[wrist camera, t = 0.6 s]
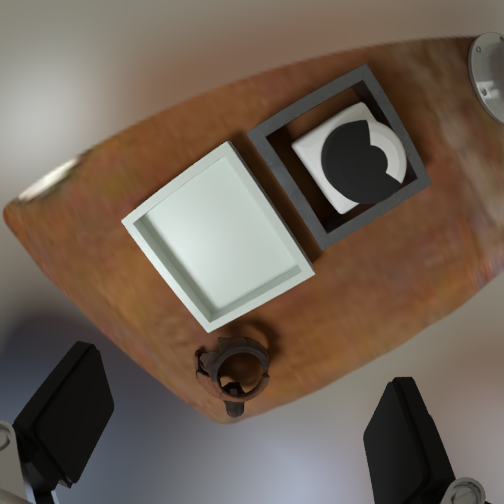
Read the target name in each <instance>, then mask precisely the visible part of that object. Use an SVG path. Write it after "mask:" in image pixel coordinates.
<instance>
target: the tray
mask: <svg viewBox="0 0 504 504" xmlns="http://www.w3.org/2000/svg"><path fill="white" fill-rule="evenodd" d="M121 222H122V223H123V224H124V226H125V227H126V229H127V230H128V231H129V233H130V234H131V236H132V237H133V238H134V240H135V241H136V242H137V244H138V245H139V247H140V248H141V249H142V251H143V252H144V253H145V255H146V256H147V257H148V259H149V260H150V261H151V263H152V264H153V265H154V266H155V268H156V269H157V270H158V272H159V273H160V274H161V276H162V277H163V278H164V279H165V281H166V282H167V283H168V285H169V286H170V287H171V288H172V290H173V291H174V292H175V293H176V295H177V296H178V297H179V298H180V300H181V301H182V302H183V303H184V305H185V306H186V307H187V308H188V309H189V311H190V312H191V313H192V314H193V316H194V317H195V318H196V319H197V320H198V322H199V323H200V324H201V325H202V326H203V327H204V329H205V330H206V331H207V332H208V333H209V332H211V331H213V330H215V329H217V328H218V327H220V326H222V325H224V324H226V323H228V322H230V321H232V320H234V319H236V318H237V317H239V316H241V315H243V314H245V313H247V312H249V311H250V310H252V309H254V308H256V307H258V306H260V305H261V304H263V303H265V302H267V301H269V300H271V299H272V298H274V297H276V296H278V295H280V294H281V293H283V292H285V291H287V290H288V289H290V288H292V287H294V286H296V285H297V284H299V283H301V282H303V281H304V280H306V279H308V278H310V277H311V276H313V275H315V272H314V269H313V265H312V263H311V261H310V260H309V258H308V257H307V255H306V253H305V252H304V250H303V249H302V247H301V246H300V244H299V242H298V241H297V239H296V238H295V236H294V235H293V233H292V232H291V230H290V229H289V227H288V225H287V224H286V222H285V221H284V219H283V218H282V216H281V215H280V213H279V212H278V210H277V209H276V207H275V206H274V204H273V203H272V201H271V200H270V198H269V197H268V195H267V194H266V192H265V191H264V189H263V188H262V186H261V185H260V183H259V182H258V180H257V179H256V177H255V176H254V174H253V173H252V171H251V170H250V168H249V167H248V165H247V164H246V163H245V161H244V160H243V158H242V157H241V155H240V154H239V152H238V151H237V149H236V148H235V147H234V145H233V144H232V142H231V141H226V142H225V143H223V144H222V145H220V146H219V147H217V148H216V149H215V150H213V151H212V152H210V153H209V154H207V155H206V156H205V157H203V158H202V159H200V160H199V161H198V162H196V163H195V164H193V165H192V166H191V167H189V168H188V169H187V170H185V171H184V172H183V173H181V174H180V175H179V176H177V177H176V178H175V179H173V180H172V181H171V182H169V183H168V184H167V185H165V186H164V187H163V188H161V189H160V190H159V191H158V192H156V193H155V194H154V195H152V196H151V197H150V198H149V199H147V200H146V201H145V202H144V203H142V204H141V205H140V206H139V207H137V208H136V209H135V210H134V211H133V212H131V213H130V214H129V215H128V216H126V217H125V218H124V219H123V220H122V221H121Z"/></svg>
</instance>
